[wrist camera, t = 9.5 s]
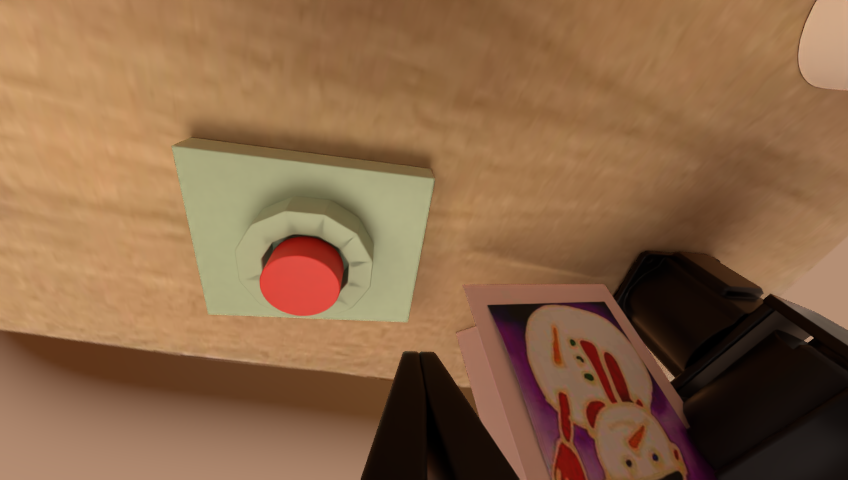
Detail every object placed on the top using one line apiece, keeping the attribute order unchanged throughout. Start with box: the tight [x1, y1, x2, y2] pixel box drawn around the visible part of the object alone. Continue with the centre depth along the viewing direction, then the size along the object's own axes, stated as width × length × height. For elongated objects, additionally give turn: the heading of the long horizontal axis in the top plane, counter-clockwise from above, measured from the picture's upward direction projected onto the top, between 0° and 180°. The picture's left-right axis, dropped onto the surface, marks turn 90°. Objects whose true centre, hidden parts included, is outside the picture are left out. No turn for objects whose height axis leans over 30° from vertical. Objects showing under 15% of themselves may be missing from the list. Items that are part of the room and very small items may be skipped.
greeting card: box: [456, 284, 718, 480], centre depth 18 cm, size 11×7×15 cm, turn 78°
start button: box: [260, 236, 344, 316], centre depth 15 cm, size 4×4×2 cm
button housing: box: [172, 137, 435, 322], centre depth 17 cm, size 10×12×4 cm
